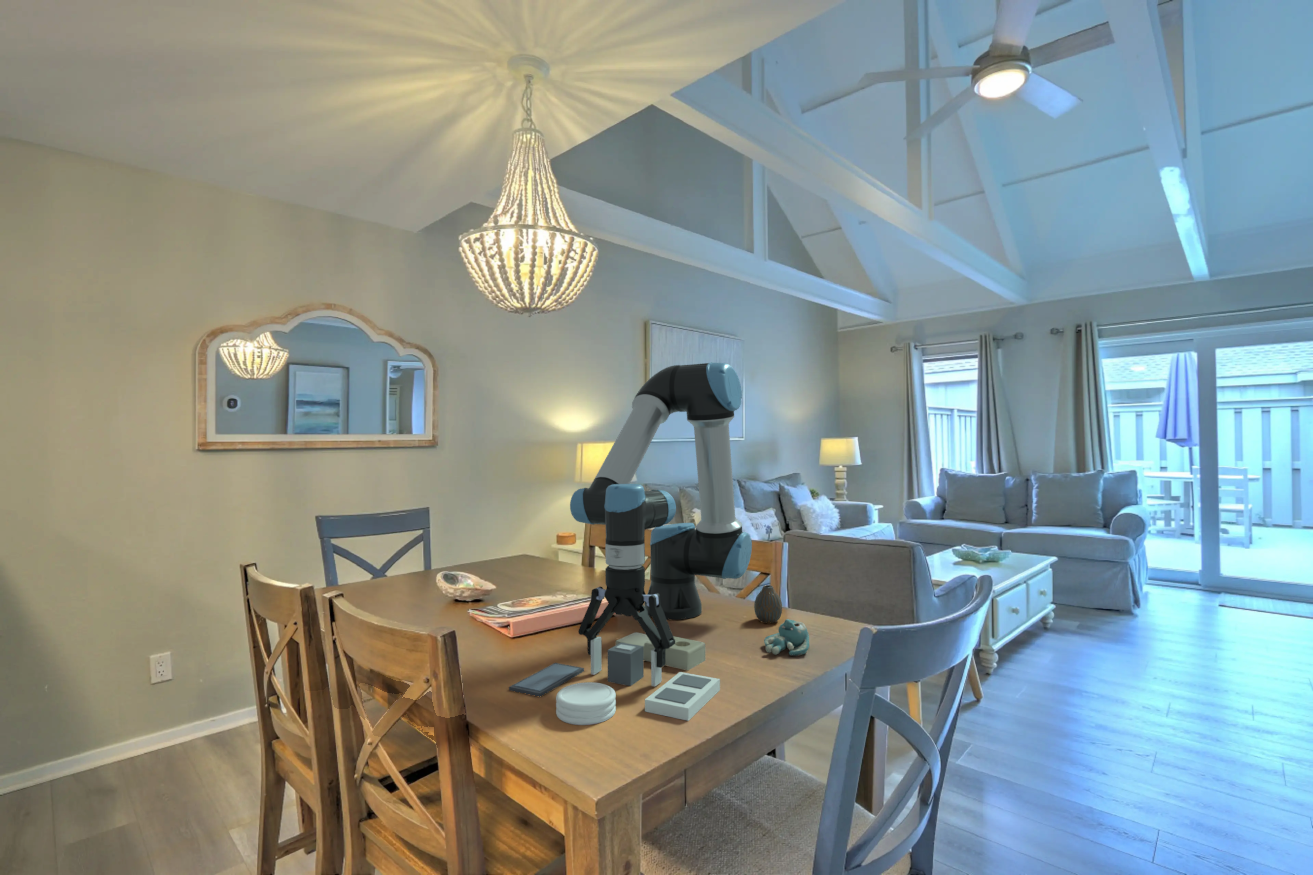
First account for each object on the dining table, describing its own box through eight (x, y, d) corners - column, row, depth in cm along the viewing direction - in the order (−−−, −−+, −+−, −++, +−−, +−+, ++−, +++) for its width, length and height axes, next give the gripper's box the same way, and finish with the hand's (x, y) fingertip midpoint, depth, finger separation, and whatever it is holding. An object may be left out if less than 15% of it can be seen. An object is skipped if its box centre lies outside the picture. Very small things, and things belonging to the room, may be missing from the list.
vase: (754, 616, 162) (753, 582, 162) (781, 617, 161) (781, 583, 161) (754, 624, 155) (754, 588, 155) (783, 625, 154) (782, 589, 154)
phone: (555, 668, 128) (555, 661, 128) (584, 673, 125) (584, 667, 125) (509, 693, 115) (509, 686, 115) (539, 700, 112) (539, 692, 112)
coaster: (626, 716, 104) (626, 695, 104) (571, 732, 99) (571, 709, 99) (598, 696, 113) (598, 676, 113) (546, 709, 107) (546, 689, 107)
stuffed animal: (747, 627, 135) (779, 606, 144) (751, 658, 136) (783, 635, 145) (789, 638, 128) (821, 615, 136) (794, 671, 129) (824, 646, 137)
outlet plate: (680, 682, 118) (680, 670, 118) (720, 689, 115) (719, 677, 115) (644, 711, 106) (644, 698, 106) (688, 720, 102) (688, 707, 102)
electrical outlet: (635, 627, 141) (705, 641, 130) (635, 646, 141) (706, 661, 130) (615, 636, 135) (687, 651, 125) (615, 655, 135) (688, 672, 125)
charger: (621, 672, 124) (620, 641, 124) (643, 677, 121) (643, 644, 121) (607, 681, 119) (607, 648, 119) (630, 686, 117) (630, 652, 117)
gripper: (560, 563, 123) (560, 673, 122) (675, 575, 111) (675, 696, 111) (582, 556, 129) (582, 661, 129) (692, 567, 118) (692, 681, 118)
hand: (625, 677), depth 120 cm, fingers open, 12 cm apart
